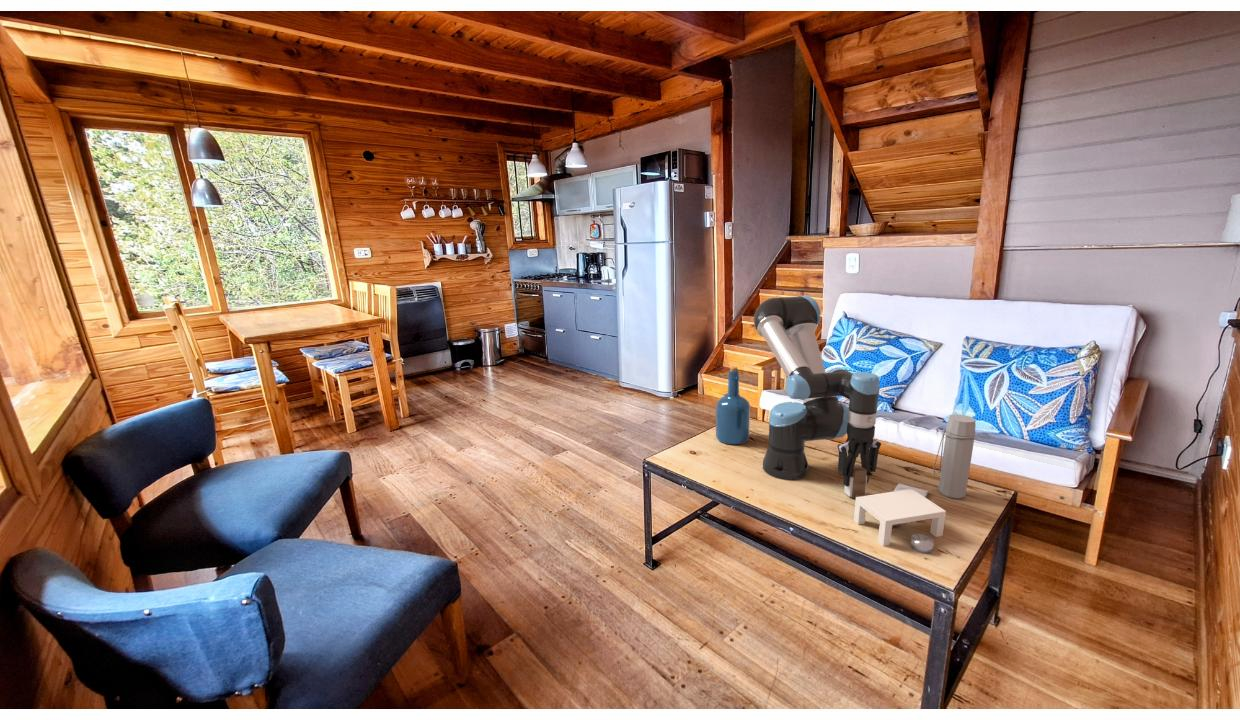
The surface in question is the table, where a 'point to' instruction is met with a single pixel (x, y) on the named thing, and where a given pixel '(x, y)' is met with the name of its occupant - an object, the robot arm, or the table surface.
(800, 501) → the table surface
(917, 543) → the steel puck
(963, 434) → the water bottle
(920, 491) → the external hard drive
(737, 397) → the wine bottle
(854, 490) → the walnut paddle
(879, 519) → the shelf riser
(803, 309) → the robot arm
